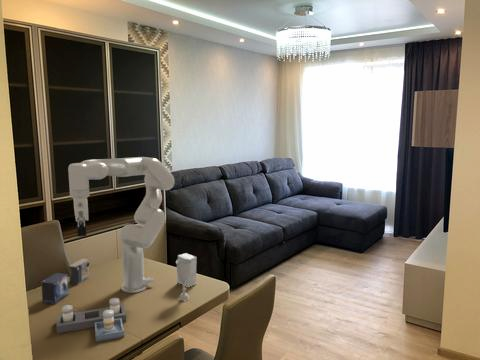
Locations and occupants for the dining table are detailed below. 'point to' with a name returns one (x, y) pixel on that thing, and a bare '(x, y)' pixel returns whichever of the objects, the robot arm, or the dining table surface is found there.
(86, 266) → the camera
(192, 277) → the skincare box
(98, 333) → the tray
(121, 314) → the fuse block
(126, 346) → the dining table surface
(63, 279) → the small box
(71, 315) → the fuse
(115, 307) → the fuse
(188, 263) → the chalice
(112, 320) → the white striped cylinder
